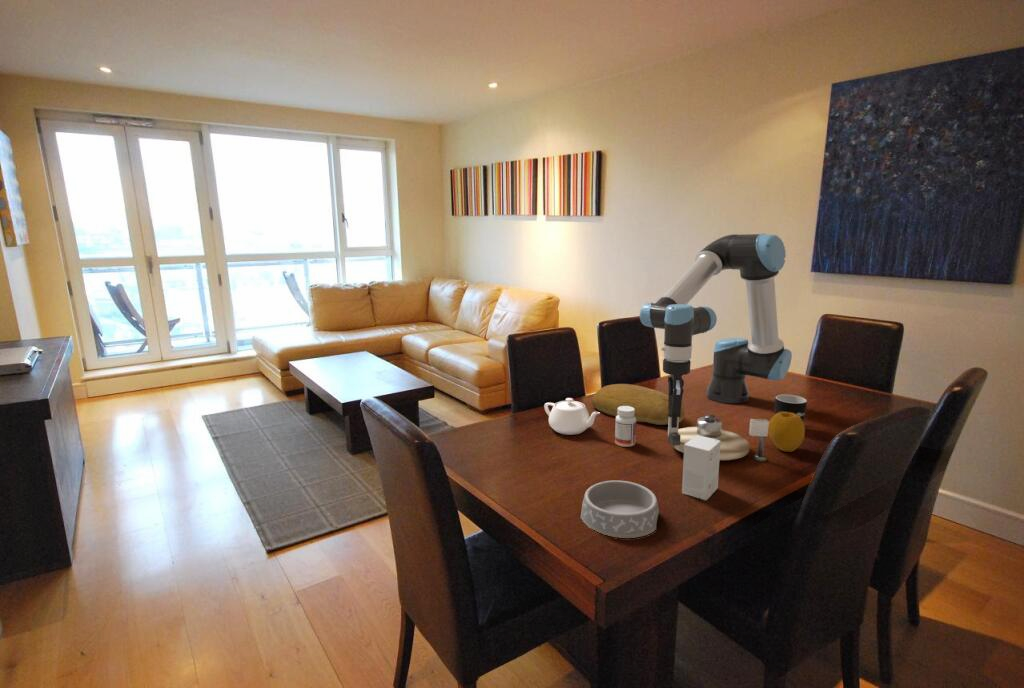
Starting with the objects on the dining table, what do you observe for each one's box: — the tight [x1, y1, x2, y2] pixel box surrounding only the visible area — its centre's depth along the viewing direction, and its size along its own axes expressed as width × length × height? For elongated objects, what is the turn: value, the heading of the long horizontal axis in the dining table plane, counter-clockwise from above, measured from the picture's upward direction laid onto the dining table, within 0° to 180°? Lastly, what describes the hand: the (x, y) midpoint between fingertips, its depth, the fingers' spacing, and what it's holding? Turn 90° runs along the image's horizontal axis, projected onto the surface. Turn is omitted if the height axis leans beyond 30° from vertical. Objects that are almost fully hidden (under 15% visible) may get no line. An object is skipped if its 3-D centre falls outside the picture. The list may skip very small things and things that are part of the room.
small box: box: [681, 435, 721, 501], centre depth 128 cm, size 8×6×13 cm
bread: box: [591, 383, 686, 426], centre depth 184 cm, size 18×35×10 cm, turn 47°
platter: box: [667, 426, 751, 461], centre depth 153 cm, size 22×23×4 cm
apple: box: [768, 412, 806, 453], centre depth 152 cm, size 10×10×12 cm
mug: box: [774, 394, 808, 422], centre depth 169 cm, size 12×9×10 cm
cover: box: [696, 414, 723, 438], centre depth 158 cm, size 7×7×6 cm
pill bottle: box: [614, 406, 637, 448], centre depth 158 cm, size 6×6×11 cm
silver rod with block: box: [748, 418, 770, 463], centre depth 145 cm, size 3×5×12 cm, turn 81°
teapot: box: [543, 397, 601, 436], centre depth 170 cm, size 22×14×11 cm, turn 48°
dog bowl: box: [580, 480, 660, 538], centre depth 118 cm, size 17×18×5 cm
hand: (672, 436), depth 153 cm, fingers closed
